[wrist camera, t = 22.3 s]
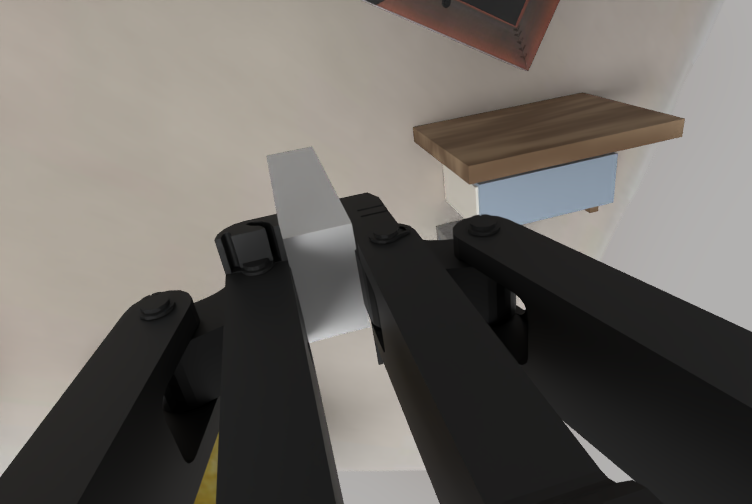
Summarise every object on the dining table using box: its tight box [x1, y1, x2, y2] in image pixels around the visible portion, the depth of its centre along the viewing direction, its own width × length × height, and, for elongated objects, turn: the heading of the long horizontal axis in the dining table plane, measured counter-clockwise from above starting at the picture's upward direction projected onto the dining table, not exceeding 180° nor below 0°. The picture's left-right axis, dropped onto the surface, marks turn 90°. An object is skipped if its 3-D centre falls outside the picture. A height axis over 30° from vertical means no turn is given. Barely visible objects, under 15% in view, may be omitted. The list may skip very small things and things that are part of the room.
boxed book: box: [443, 152, 618, 225], centre depth 51 cm, size 5×14×9 cm, turn 98°
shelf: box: [413, 93, 685, 213], centre depth 49 cm, size 12×19×14 cm, turn 98°
